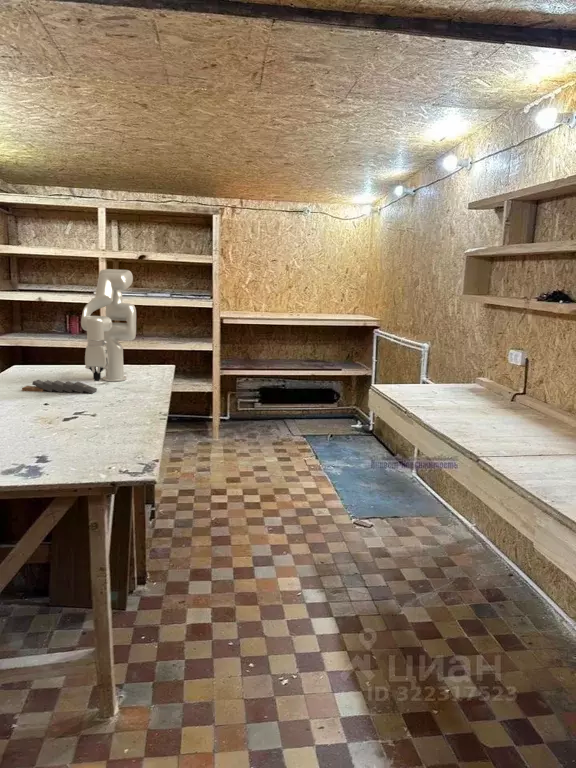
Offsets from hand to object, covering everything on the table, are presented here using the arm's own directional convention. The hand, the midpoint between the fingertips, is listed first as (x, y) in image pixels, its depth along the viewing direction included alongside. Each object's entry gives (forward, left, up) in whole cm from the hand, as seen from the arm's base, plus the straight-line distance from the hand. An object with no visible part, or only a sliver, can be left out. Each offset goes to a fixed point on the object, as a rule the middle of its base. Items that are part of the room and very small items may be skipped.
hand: (97, 380), depth 250 cm
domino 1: (0, -26, -6) cm, 26 cm away
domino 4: (0, -12, -5) cm, 13 cm away
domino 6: (0, -1, -5) cm, 5 cm away
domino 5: (0, -6, -5) cm, 8 cm away
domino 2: (0, -21, -5) cm, 22 cm away
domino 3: (0, -16, -5) cm, 17 cm away
